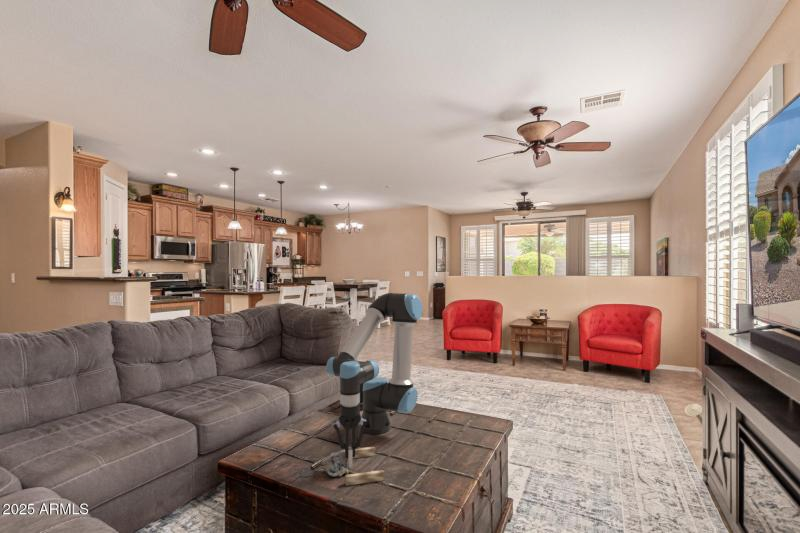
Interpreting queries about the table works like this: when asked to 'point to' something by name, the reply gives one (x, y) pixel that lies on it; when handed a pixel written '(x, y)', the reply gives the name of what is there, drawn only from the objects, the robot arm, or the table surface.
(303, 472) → the dark gray rectangular slab
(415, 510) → the table surface
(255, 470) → the table surface
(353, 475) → the wooden slats
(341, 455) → the mineral specimen
